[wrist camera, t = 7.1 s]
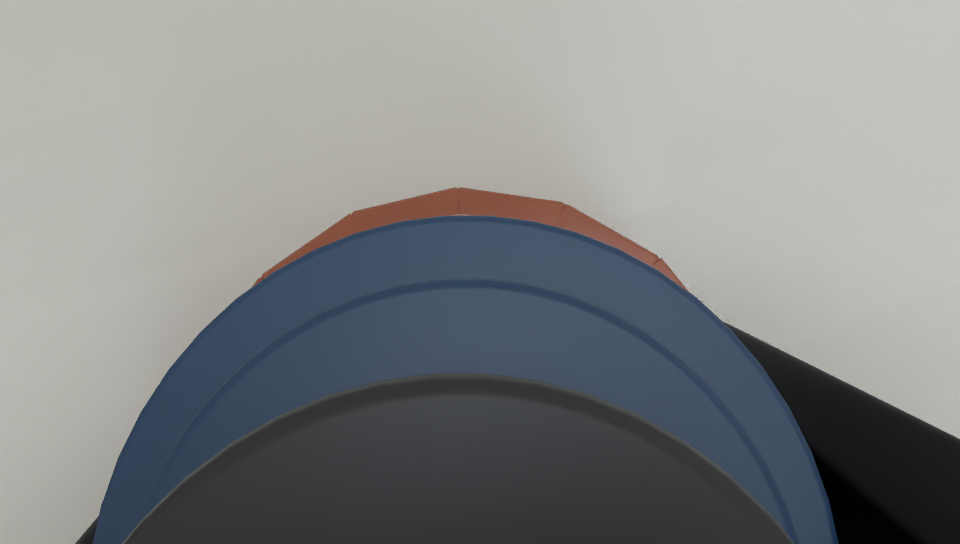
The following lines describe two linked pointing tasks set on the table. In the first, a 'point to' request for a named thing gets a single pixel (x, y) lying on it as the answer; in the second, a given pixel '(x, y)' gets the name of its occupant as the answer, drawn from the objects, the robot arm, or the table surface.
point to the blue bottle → (466, 406)
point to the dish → (478, 205)
